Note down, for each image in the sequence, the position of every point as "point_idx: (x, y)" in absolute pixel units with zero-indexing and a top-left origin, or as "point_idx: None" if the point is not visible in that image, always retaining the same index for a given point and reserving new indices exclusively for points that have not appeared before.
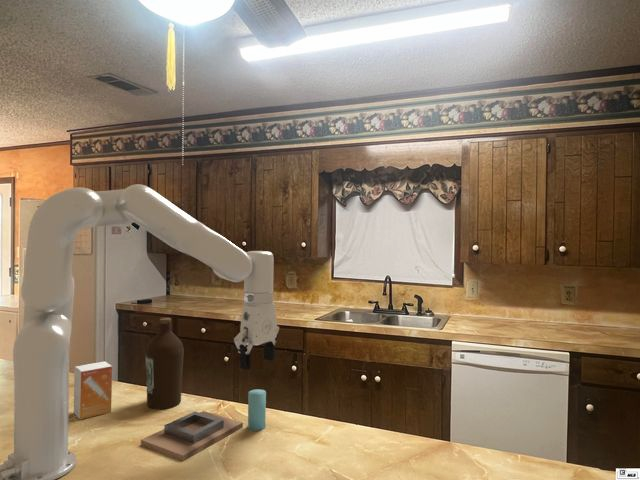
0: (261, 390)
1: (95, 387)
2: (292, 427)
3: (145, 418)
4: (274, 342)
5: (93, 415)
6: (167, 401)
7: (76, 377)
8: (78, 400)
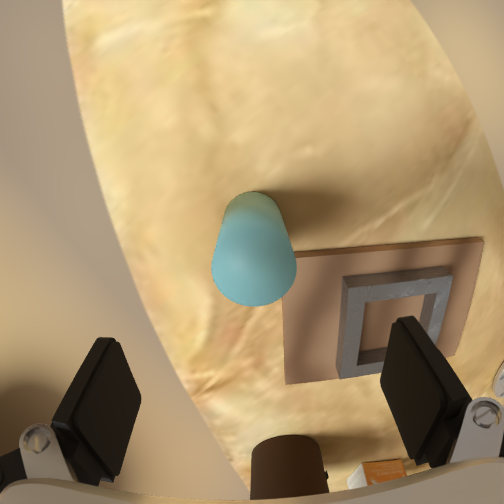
0: (221, 271)
1: None
2: (180, 123)
3: (359, 426)
4: (35, 444)
5: (385, 461)
6: (305, 448)
7: None
8: None
